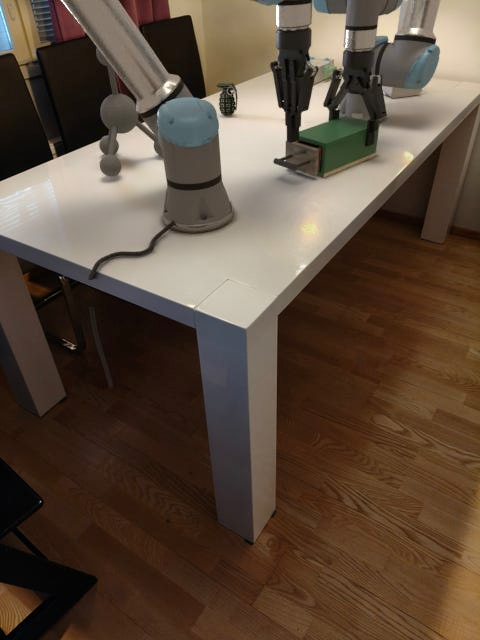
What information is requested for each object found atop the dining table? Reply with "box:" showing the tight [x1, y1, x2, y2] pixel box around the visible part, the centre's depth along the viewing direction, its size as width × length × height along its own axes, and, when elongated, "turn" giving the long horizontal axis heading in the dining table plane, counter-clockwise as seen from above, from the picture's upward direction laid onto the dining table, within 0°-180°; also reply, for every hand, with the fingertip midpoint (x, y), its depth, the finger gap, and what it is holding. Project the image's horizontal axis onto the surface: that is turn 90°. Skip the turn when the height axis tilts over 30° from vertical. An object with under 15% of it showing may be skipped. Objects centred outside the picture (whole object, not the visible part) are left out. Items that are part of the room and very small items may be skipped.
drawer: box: [272, 140, 323, 177], centre depth 125 cm, size 25×10×6 cm, turn 130°
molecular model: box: [95, 47, 163, 178], centre depth 128 cm, size 24×22×30 cm
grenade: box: [215, 82, 238, 117], centre depth 166 cm, size 7×6×10 cm
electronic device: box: [382, 0, 423, 99], centre depth 171 cm, size 12×8×30 cm, turn 105°
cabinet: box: [295, 116, 380, 178], centre depth 128 cm, size 21×12×8 cm, turn 131°
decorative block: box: [310, 56, 338, 85], centre depth 205 cm, size 26×6×20 cm
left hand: (292, 140), depth 117 cm, fingers closed
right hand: (351, 140), depth 131 cm, fingers closed on cabinet, 11 cm apart
